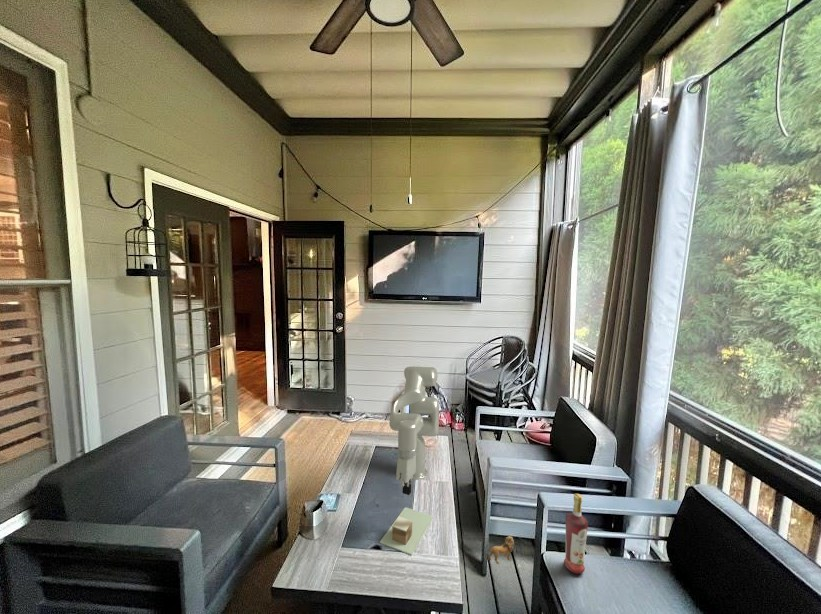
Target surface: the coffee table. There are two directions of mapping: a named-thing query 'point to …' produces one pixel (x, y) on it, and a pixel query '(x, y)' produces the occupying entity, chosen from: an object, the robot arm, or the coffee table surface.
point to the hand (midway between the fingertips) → (406, 493)
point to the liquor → (575, 537)
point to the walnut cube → (402, 530)
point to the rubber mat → (418, 529)
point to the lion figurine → (502, 549)
